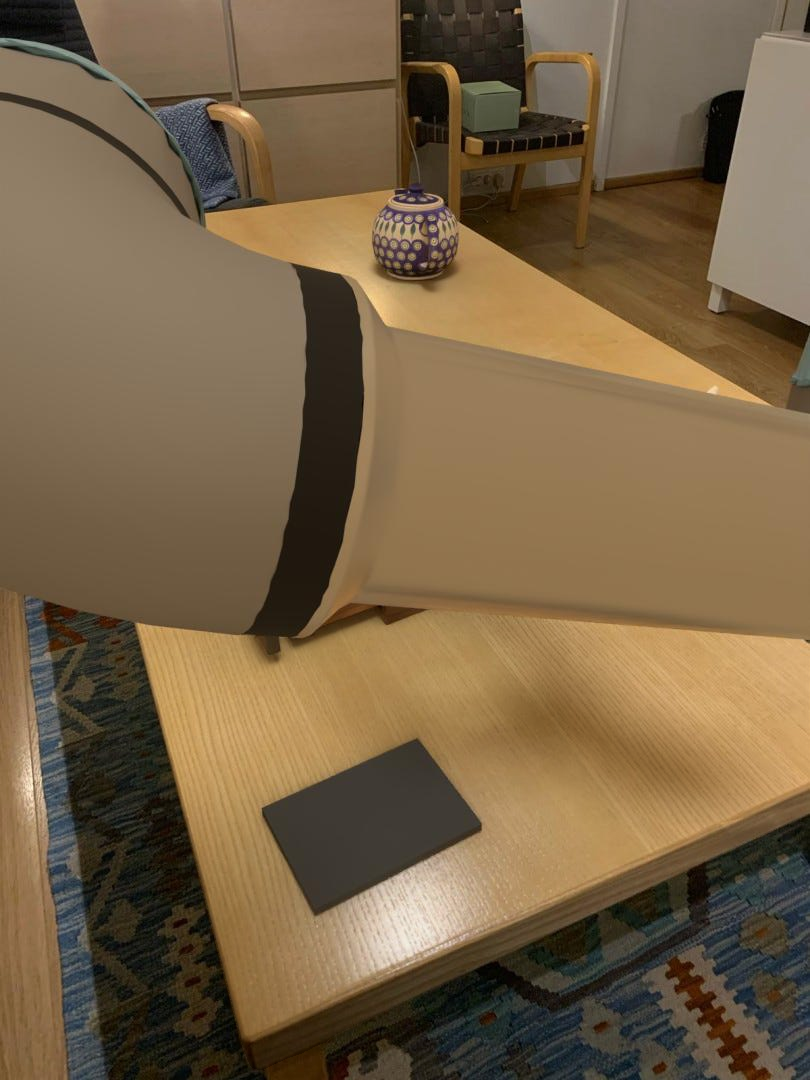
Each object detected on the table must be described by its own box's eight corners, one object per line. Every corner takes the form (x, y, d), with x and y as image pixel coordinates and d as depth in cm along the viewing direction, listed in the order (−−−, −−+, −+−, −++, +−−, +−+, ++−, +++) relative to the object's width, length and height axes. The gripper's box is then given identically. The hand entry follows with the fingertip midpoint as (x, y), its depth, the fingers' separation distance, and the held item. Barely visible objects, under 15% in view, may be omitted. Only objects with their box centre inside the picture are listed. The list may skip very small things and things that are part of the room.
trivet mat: (315, 916, 57) (314, 909, 56) (262, 814, 63) (260, 807, 63) (481, 830, 62) (482, 823, 61) (417, 744, 68) (417, 737, 68)
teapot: (473, 293, 146) (477, 201, 137) (385, 299, 143) (383, 206, 135) (441, 246, 165) (442, 163, 157) (362, 250, 163) (360, 167, 154)
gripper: (555, 677, 49) (272, 548, 59) (709, 480, 65) (467, 405, 75) (569, 572, 45) (261, 452, 55) (730, 389, 61) (471, 322, 71)
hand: (380, 424), depth 65 cm, fingers open, 13 cm apart
